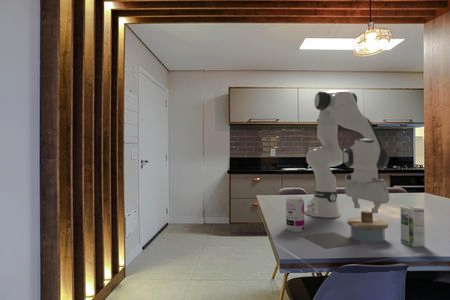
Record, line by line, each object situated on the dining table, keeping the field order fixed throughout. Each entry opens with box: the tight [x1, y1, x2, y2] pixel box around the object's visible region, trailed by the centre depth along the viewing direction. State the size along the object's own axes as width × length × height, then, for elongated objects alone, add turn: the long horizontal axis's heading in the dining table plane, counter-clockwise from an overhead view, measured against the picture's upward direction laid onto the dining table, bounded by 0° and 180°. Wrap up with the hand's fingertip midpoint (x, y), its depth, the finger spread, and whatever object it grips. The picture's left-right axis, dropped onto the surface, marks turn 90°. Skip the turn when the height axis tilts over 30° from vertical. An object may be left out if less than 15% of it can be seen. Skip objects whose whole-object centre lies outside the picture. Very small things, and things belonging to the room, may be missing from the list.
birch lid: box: [346, 210, 389, 229], centre depth 113 cm, size 15×15×5 cm
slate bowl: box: [350, 225, 386, 244], centre depth 113 cm, size 12×12×6 cm
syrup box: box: [400, 205, 426, 248], centre depth 105 cm, size 6×6×14 cm
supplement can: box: [285, 196, 306, 233], centre depth 127 cm, size 8×8×15 cm
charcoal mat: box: [300, 231, 363, 250], centre depth 111 cm, size 17×17×1 cm
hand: (365, 210), depth 113 cm, fingers open, 8 cm apart
